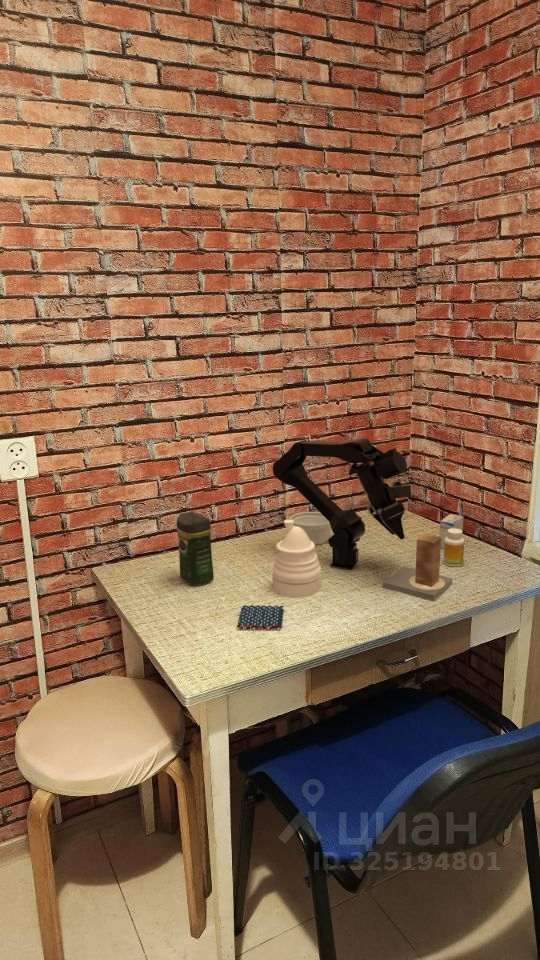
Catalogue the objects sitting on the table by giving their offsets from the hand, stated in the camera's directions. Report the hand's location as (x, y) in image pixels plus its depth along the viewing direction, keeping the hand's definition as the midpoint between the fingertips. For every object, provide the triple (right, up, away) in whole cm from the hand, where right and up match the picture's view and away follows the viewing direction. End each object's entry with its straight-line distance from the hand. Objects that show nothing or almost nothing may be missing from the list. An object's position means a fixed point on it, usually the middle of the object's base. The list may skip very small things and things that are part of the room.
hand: (398, 536), depth 171 cm
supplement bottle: (+17, -9, +10) cm, 22 cm away
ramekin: (-21, -4, +30) cm, 37 cm away
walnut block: (+6, -11, -5) cm, 14 cm away
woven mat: (-36, -19, -19) cm, 45 cm away
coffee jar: (-54, -12, +4) cm, 56 cm away
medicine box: (+20, -5, +22) cm, 30 cm away
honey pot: (-27, -13, -2) cm, 30 cm away
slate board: (+4, -13, -3) cm, 14 cm away
